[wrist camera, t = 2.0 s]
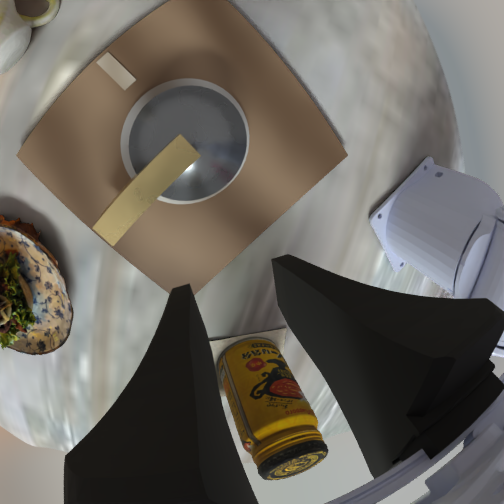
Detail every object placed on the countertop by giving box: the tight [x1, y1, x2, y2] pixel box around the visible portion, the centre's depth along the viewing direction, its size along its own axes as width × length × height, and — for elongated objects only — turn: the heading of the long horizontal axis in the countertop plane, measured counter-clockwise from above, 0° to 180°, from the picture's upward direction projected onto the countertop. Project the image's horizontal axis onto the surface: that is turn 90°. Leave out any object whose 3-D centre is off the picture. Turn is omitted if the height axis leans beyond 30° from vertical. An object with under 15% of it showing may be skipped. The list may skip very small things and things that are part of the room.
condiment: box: [209, 328, 328, 480], centre depth 21 cm, size 7×8×12 cm
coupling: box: [93, 85, 247, 246], centre depth 13 cm, size 9×6×4 cm, turn 129°
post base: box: [16, 0, 348, 295], centre depth 15 cm, size 16×16×1 cm
